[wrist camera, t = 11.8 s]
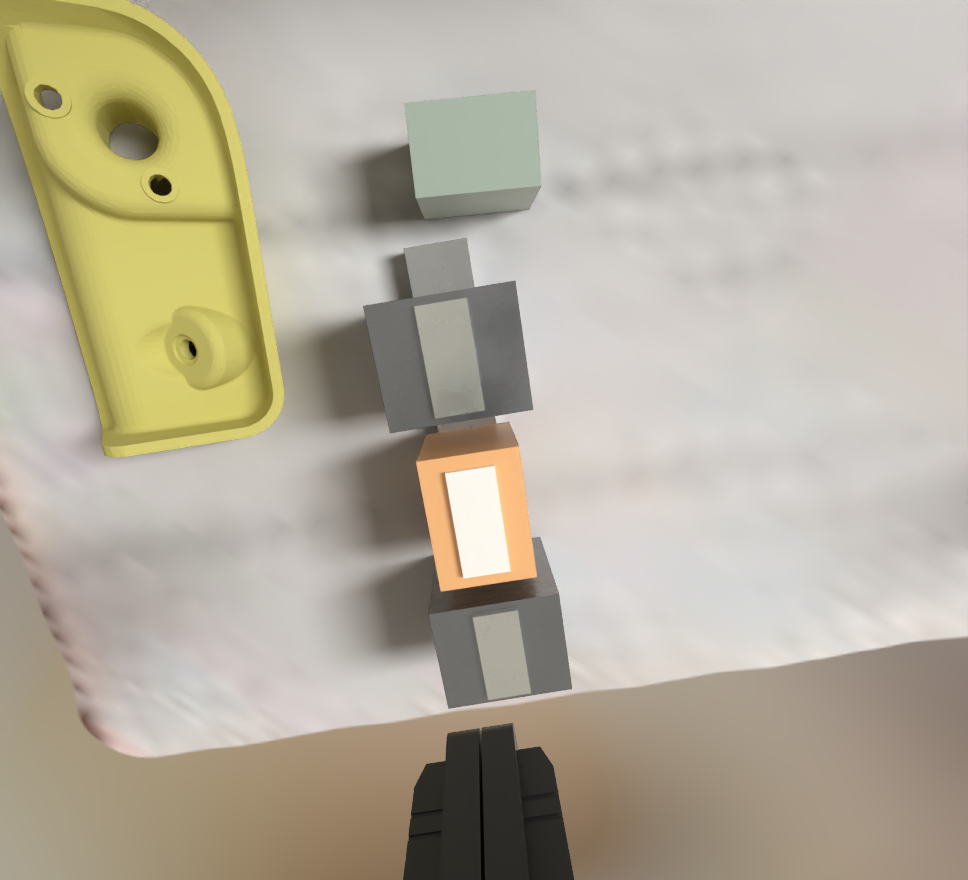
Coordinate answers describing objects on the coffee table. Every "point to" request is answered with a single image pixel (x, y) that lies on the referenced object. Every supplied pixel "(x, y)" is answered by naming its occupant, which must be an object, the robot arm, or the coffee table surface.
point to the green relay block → (474, 154)
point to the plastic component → (145, 222)
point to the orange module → (476, 506)
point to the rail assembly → (459, 405)
